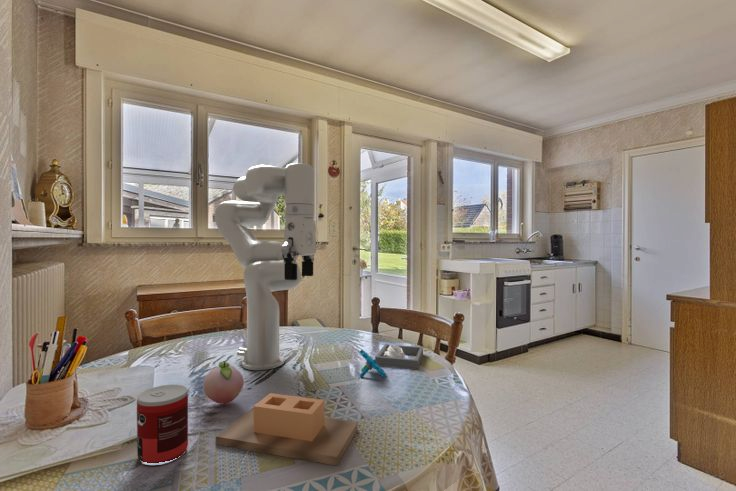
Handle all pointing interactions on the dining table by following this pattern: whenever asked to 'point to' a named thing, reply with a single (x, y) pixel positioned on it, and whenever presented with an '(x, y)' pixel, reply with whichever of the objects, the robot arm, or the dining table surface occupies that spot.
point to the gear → (370, 365)
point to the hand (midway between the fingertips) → (299, 277)
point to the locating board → (291, 440)
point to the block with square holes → (289, 416)
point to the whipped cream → (394, 352)
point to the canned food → (162, 423)
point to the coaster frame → (400, 361)
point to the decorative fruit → (223, 383)
